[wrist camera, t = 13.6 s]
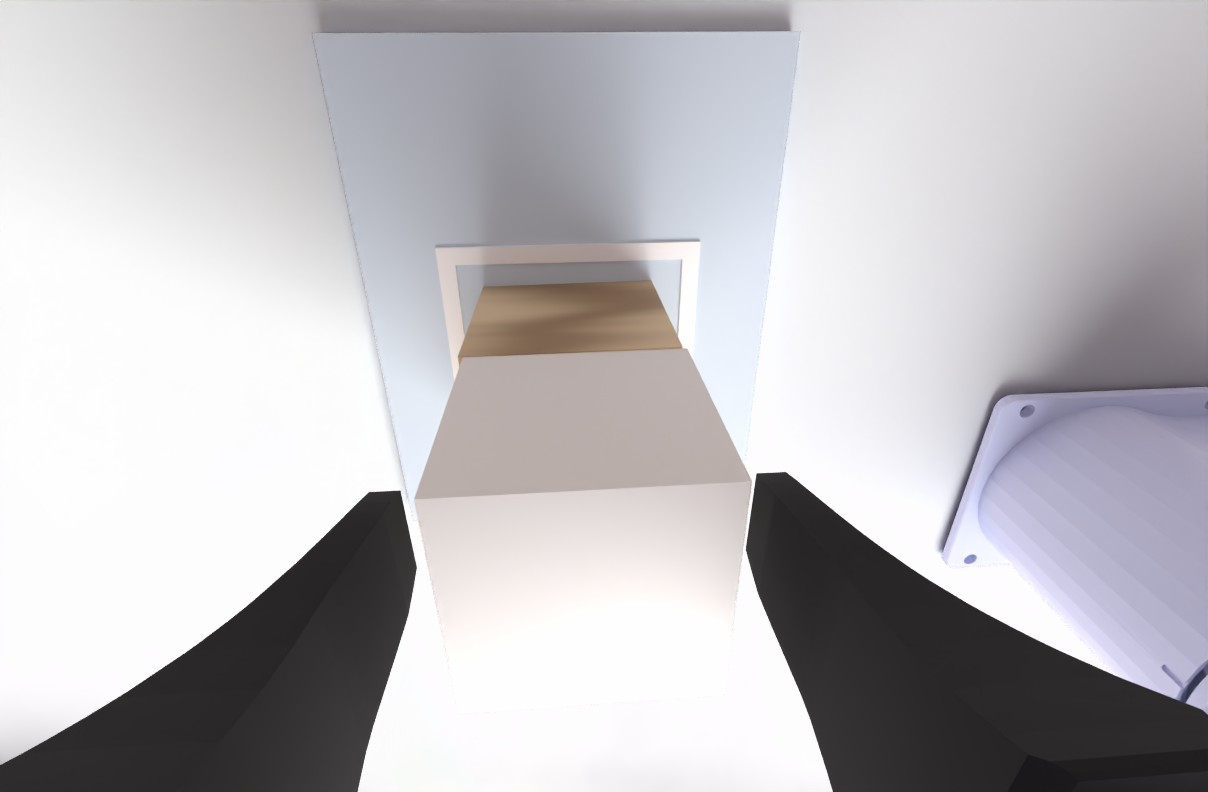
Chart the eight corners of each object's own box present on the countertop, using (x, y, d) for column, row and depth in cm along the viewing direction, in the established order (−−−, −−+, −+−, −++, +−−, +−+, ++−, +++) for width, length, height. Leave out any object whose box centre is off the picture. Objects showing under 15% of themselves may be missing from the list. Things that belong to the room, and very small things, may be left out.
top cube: (687, 348, 13) (751, 481, 9) (677, 521, 16) (723, 694, 11) (462, 357, 13) (414, 499, 9) (486, 532, 15) (458, 714, 11)
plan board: (792, 33, 15) (802, 31, 15) (735, 493, 22) (740, 505, 22) (320, 34, 15) (310, 32, 14) (416, 509, 22) (412, 522, 21)
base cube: (651, 280, 18) (682, 346, 13) (648, 423, 20) (674, 520, 16) (483, 286, 17) (457, 356, 13) (500, 431, 20) (483, 531, 15)
